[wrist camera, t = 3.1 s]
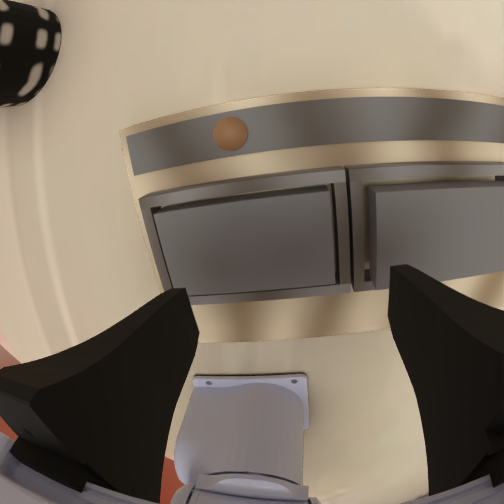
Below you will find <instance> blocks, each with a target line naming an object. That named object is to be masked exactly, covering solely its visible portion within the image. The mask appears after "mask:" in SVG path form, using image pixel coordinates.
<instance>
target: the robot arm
mask: <svg viewBox="0 0 504 504" xmlns="http://www.w3.org/2000/svg"><path fill="white" fill-rule="evenodd" d="M387 316H388V320H389V324H390V327H391V331H392V334H393V338H394V341H395V343H396V346H397V348H398V350H399V353H400V355H401V358H402V360H403V363H404V365H405V368H406V370H407V373H408V375H409V378H410V380H411V383H412V386H413V388H414V392H415V395H416V398H417V403H418V407H419V412H420V416H421V421H422V427H423V433H424V439H425V446H426V455H427V465H428V483H429V496H428V497H425V498H421V499H417V500H414V501H410V502H406V503H401V504H504V311H503V310H500V309H497V308H494V307H492V306H489V305H487V304H484V303H482V302H479V301H477V300H475V299H472V298H470V297H468V296H466V295H464V294H462V293H460V292H458V291H456V290H454V289H452V288H450V287H448V286H447V285H445V284H443V283H441V282H439V281H438V280H436V279H434V278H432V277H431V276H429V275H427V274H425V273H424V272H422V271H420V270H418V269H416V268H414V267H412V266H410V265H408V264H403V265H395V266H390V282H389V300H388V314H387ZM199 334H200V332H199V329H198V326H197V323H196V320H195V316H194V313H193V310H192V307H191V304H190V301H189V297H188V294H187V291H186V288H172V289H169V290H167V291H165V292H163V293H161V294H160V295H158V296H157V297H155V298H154V299H152V300H151V301H149V302H148V303H146V304H145V305H143V306H142V307H140V308H139V309H138V310H136V311H135V312H133V313H132V314H130V315H129V316H127V317H126V318H124V319H123V320H121V321H119V322H118V323H116V324H115V325H113V326H112V327H110V328H109V329H107V330H105V331H103V332H102V333H100V334H98V335H96V336H94V337H92V338H91V339H89V340H87V341H85V342H83V343H81V344H78V345H76V346H74V347H71V348H69V349H67V350H64V351H62V352H59V353H57V354H54V355H51V356H48V357H45V358H42V359H38V360H35V361H31V362H27V363H23V364H18V365H13V366H9V367H3V368H2V369H0V416H1V417H2V419H3V420H4V421H5V422H6V423H7V424H8V426H9V427H10V428H11V429H12V430H13V431H14V432H15V433H16V434H17V435H18V436H19V437H18V438H17V440H16V441H15V442H14V441H13V440H12V439H10V438H9V437H8V436H6V435H5V434H3V433H1V432H0V504H160V491H161V478H162V470H163V463H164V456H165V451H166V445H167V440H168V435H169V430H170V426H171V422H172V418H173V413H174V410H175V407H176V404H177V401H178V398H179V396H180V393H181V390H182V388H183V385H184V383H185V380H186V378H187V375H188V372H189V370H190V367H191V364H192V362H193V359H194V356H195V353H196V348H197V344H198V339H199ZM293 379H295V380H293ZM209 381H210V382H209ZM192 383H193V385H194V390H193V392H192V395H191V398H190V401H189V404H188V407H187V410H186V413H185V416H184V419H183V421H182V424H181V427H180V430H179V433H178V436H177V440H176V445H175V454H174V462H175V469H176V472H177V475H178V477H179V479H180V481H181V482H182V483H184V484H185V485H184V486H183V487H181V488H179V489H178V490H177V491H176V492H175V494H174V496H173V498H172V500H171V503H170V504H321V503H320V502H319V500H318V499H317V498H315V497H308V493H309V486H303V451H304V430H307V429H309V405H308V387H307V376H306V375H304V374H290V375H271V376H195V377H193V380H192Z"/></svg>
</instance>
